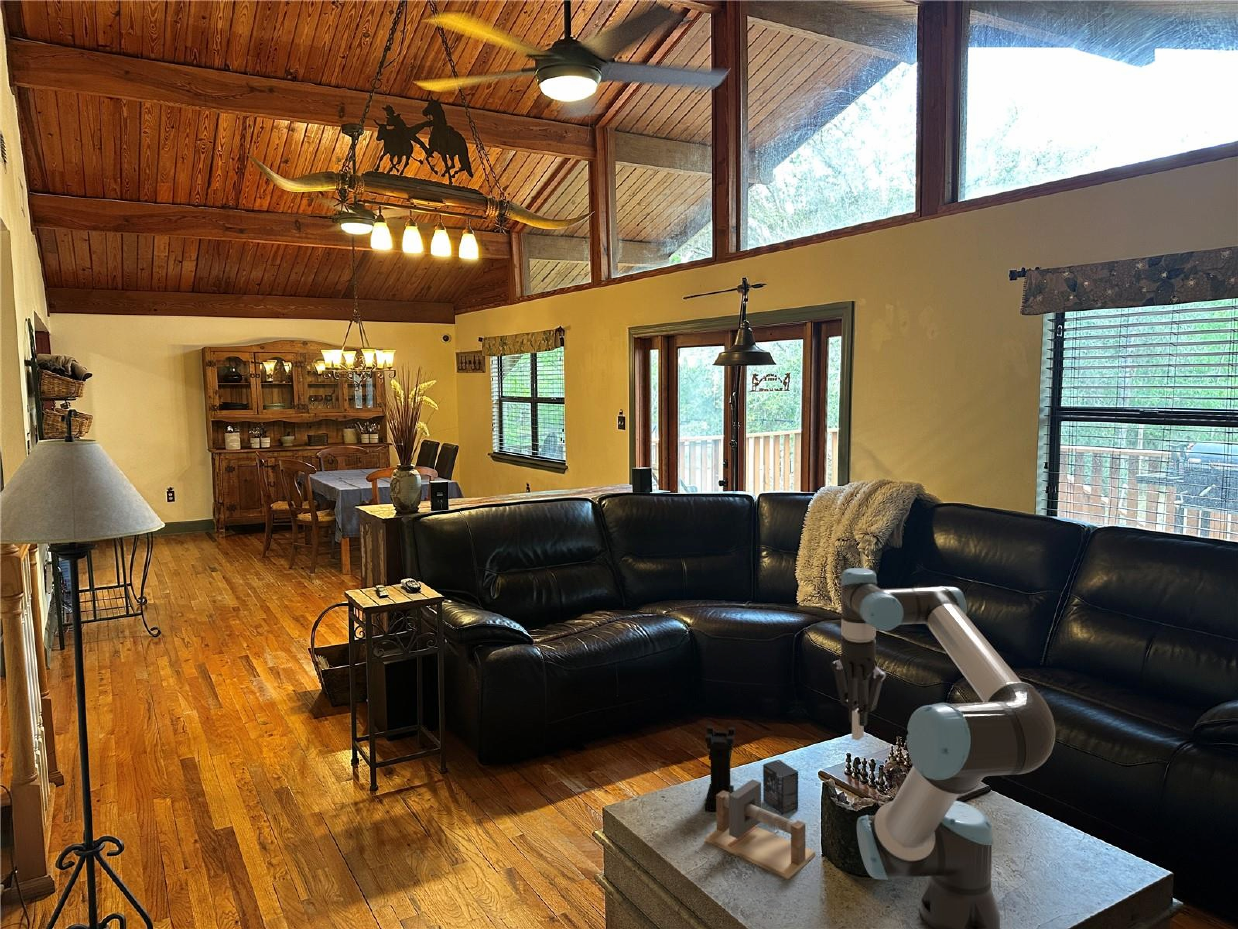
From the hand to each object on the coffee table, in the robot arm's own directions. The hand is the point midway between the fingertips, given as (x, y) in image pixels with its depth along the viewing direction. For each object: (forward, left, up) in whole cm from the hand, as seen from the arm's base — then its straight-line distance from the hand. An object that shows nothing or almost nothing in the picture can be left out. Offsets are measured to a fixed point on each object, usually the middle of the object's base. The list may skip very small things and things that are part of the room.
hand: (857, 737), depth 180 cm
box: (+26, -9, -30) cm, 40 cm away
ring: (+23, +11, -26) cm, 37 cm away
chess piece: (+38, +1, -30) cm, 48 cm away
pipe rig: (+20, +11, -29) cm, 37 cm away
